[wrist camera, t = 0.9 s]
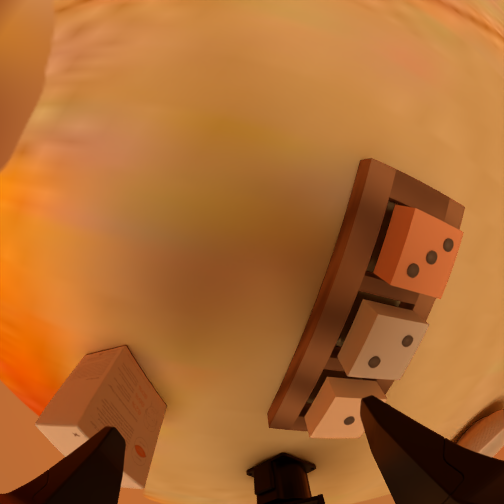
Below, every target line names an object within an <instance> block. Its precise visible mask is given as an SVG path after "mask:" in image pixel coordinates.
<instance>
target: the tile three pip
mask: <svg viewBox="0 0 504 504" xmlns="http://www.w3.org/2000/svg"><path fill="white" fill-rule="evenodd" d="M462 236H463V232H462V231H460V230H458V229H457V228H455V227H453V226H451V225H449V224H447V223H445V222H443V221H441V220H439V219H437V218H435V217H433V216H431V215H429V214H427V213H425V212H423V211H421V210H419V209H417V208H413V207H407V206H401V205H395V207H394V210H393V214H392V217H391V220H390V224H389V227H388V230H387V234H386V237H385V240H384V243H383V246H382V249H381V252H380V255H379V258H378V260H377V263H376V266H375V269H374V272H373V273H374V274H376V275H377V276H378V277H380V278H381V279H383V280H384V281H385V282H387V283H388V284H389V285H392V286H396V287H399V288H403V289H406V290H410V291H414V292H417V293H421V294H424V295H428V296H431V297H435V298H439V299H441V297H442V294H443V292H444V289H445V287H446V284H447V282H448V279H449V276H450V273H451V271H452V268H453V265H454V262H455V259H456V256H457V253H458V249H459V246H460V243H461V239H462Z"/></svg>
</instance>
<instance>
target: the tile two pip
mask: <svg viewBox="0 0 504 504" xmlns="http://www.w3.org/2000/svg"><path fill="white" fill-rule="evenodd" d="M428 326H429V324H428V323H427V322H426V321H425V320H423V319H422V318H421V317H420V316H418V315H417V314H416V313H415V312H414V311H412V310H408V309H404V308H399V307H395V306H391V305H386V304H382V303H378V302H374V301H369V300H365V299H363V300H362V303H361V305H360V307H359V310H358V312H357V315H356V317H355V319H354V322H353V324H352V326H351V328H350V331H349V333H348V335H347V337H346V339H345V341H344V344H343V346H342V348H341V350H340V352H339V354H338V356H337V357H338V359H339V361H340V363H341V365H342V367H343V369H344V371H345V373H346V375H347V376H348V377H359V378H372V379H388V380H400V378H401V377H402V375H403V373H404V372H405V370H406V368H407V366H408V365H409V363H410V361H411V359H412V358H413V356H414V354H415V352H416V350H417V348H418V346H419V344H420V343H421V341H422V339H423V337H424V335H425V333H426V331H427V328H428Z"/></svg>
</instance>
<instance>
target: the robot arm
mask: <svg viewBox="0 0 504 504" xmlns="http://www.w3.org/2000/svg"><path fill="white" fill-rule="evenodd" d="M360 418H361V421H362V424H363V427H364V430H365V433H366V436H367V440H368V443H369V446H370V449H371V452H372V454H373V457H374V459H375V461H376V463H377V465H378V467H379V469H380V471H381V473H382V476H383V478H384V480H385V482H386V484H387V486H388V488H389V491H390V493H391V495H392V497H393V499H394V501H395V503H396V504H504V461H503V460H498V459H496V458H492V457H489V456H486V455H483V454H480V453H477V452H475V451H472V450H469V449H467V448H464V447H462V446H460V445H458V444H456V443H454V442H452V441H450V440H448V439H447V438H445V439H444V437H443V436H441V435H439V434H437V433H436V432H434V431H432V430H430V429H429V428H427V427H425V426H423V425H422V424H420V423H418V422H416V421H415V420H413V419H411V418H410V417H408V416H406V415H405V414H403V413H401V412H400V411H398V410H396V409H395V408H393V407H391V406H390V405H388V404H386V403H385V402H383V401H382V400H380V399H378V398H377V397H375V396H373V395H370V396H367V397H364V398H362V399H361V405H360ZM125 449H126V442H125V439H124V438H123V436H122V435H121V434H120V432H119V431H118V430H117V428H116V427H112V426H105V427H104V428H103V429H101V430H100V431H99V432H97V433H96V434H95V435H94V436H92V437H91V438H90V439H89V440H87V441H86V442H85V443H83V444H82V445H81V446H79V447H78V448H77V449H75V450H74V451H73V452H71V453H70V454H69V455H68V456H66V457H65V458H63V459H62V460H61V461H59V462H58V463H57V464H55V465H54V466H53V467H51V468H50V469H49V470H47V471H46V472H44V473H43V474H41V475H40V476H38V477H37V478H35V479H34V480H32V481H31V482H29V483H27V484H25V485H23V486H21V487H19V488H18V489H16V490H14V491H12V492H10V493H6V494H0V504H117V503H118V498H119V492H120V487H121V482H122V477H123V469H124V458H125ZM315 469H316V466H315V465H314V464H311V463H309V462H306V461H303V460H301V459H298V458H296V457H294V456H291V455H289V454H286V453H281V454H279V455H277V456H276V457H274V458H272V459H270V460H268V461H266V462H264V463H262V464H260V465H258V466H256V467H254V468H252V469H250V470H248V471H247V472H246V473H247V475H248V476H251V477H254V489H255V495H257V504H325V502H324V498H323V494H320V495H318V496H314V497H312V496H311V491H310V486H309V481H308V477H307V473H309V472H311V471H313V470H315Z"/></svg>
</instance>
